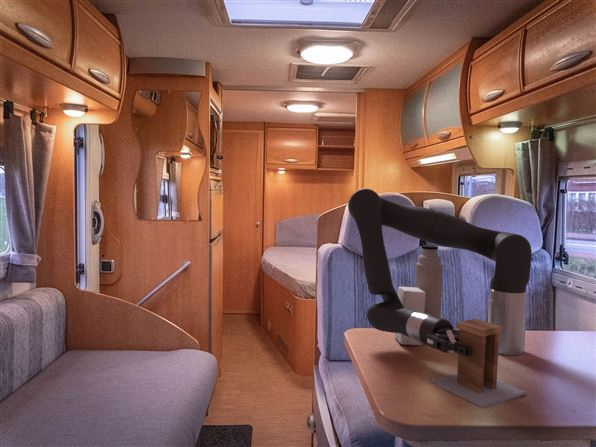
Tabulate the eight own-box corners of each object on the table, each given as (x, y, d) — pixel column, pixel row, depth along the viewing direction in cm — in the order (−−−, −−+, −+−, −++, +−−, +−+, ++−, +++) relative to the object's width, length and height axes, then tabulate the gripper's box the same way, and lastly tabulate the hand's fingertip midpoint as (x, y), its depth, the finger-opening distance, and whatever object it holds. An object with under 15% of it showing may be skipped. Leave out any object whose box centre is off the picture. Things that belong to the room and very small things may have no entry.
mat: (472, 372, 110) (472, 369, 110) (525, 394, 98) (525, 391, 98) (430, 382, 103) (430, 379, 103) (482, 407, 91) (482, 405, 91)
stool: (473, 377, 105) (476, 318, 104) (499, 388, 99) (502, 326, 98) (454, 382, 102) (457, 321, 101) (479, 394, 96) (482, 330, 95)
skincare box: (421, 346, 129) (427, 292, 128) (398, 344, 129) (404, 290, 128) (414, 337, 137) (419, 287, 136) (392, 335, 137) (397, 285, 136)
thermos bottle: (438, 332, 143) (442, 244, 141) (441, 340, 135) (445, 247, 133) (412, 330, 144) (416, 243, 143) (413, 338, 136) (417, 246, 135)
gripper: (408, 318, 109) (462, 336, 95) (449, 312, 116) (505, 328, 102) (407, 348, 110) (460, 371, 96) (448, 340, 117) (503, 361, 103)
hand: (483, 349), depth 99 cm, fingers open, 8 cm apart
